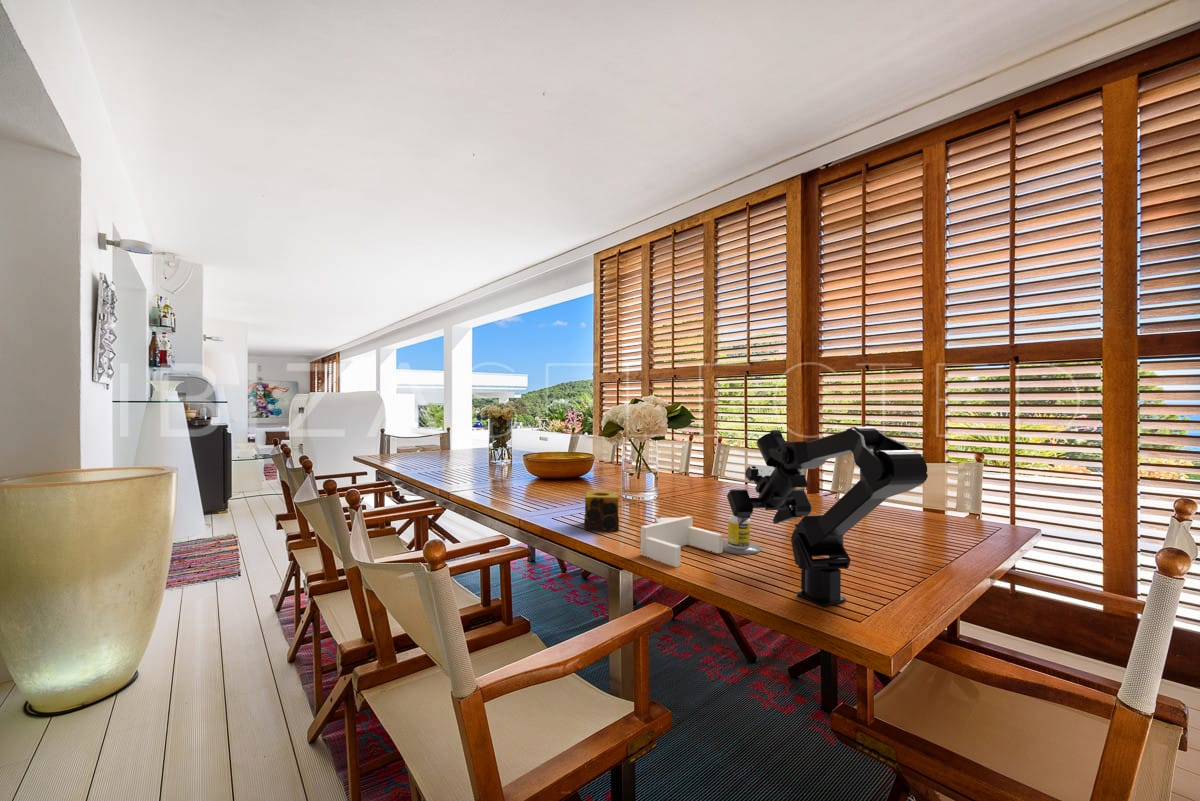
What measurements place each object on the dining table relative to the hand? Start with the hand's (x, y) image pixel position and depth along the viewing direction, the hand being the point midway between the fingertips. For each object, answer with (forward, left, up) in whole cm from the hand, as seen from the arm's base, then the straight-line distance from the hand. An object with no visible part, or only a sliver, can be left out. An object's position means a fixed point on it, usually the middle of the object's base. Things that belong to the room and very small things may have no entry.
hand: (756, 522), depth 121 cm
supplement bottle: (+8, -2, -8) cm, 12 cm away
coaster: (+8, -2, -9) cm, 12 cm away
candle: (+42, +20, -9) cm, 48 cm away
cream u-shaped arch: (+10, +14, -9) cm, 19 cm away
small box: (+23, +8, -9) cm, 26 cm away
